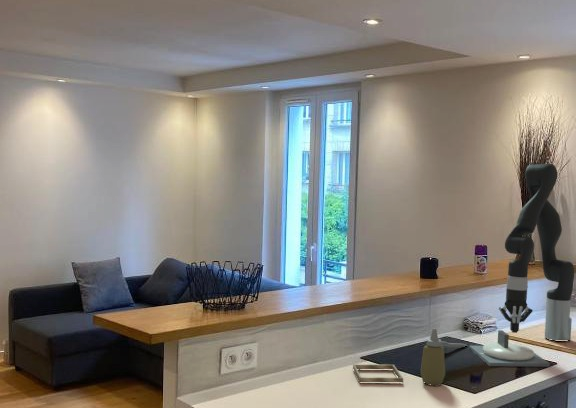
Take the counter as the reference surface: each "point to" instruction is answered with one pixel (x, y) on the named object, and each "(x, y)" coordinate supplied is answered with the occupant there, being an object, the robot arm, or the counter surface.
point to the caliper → (451, 345)
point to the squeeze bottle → (433, 361)
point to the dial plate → (494, 361)
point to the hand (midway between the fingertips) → (514, 332)
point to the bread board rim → (377, 379)
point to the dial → (507, 349)
